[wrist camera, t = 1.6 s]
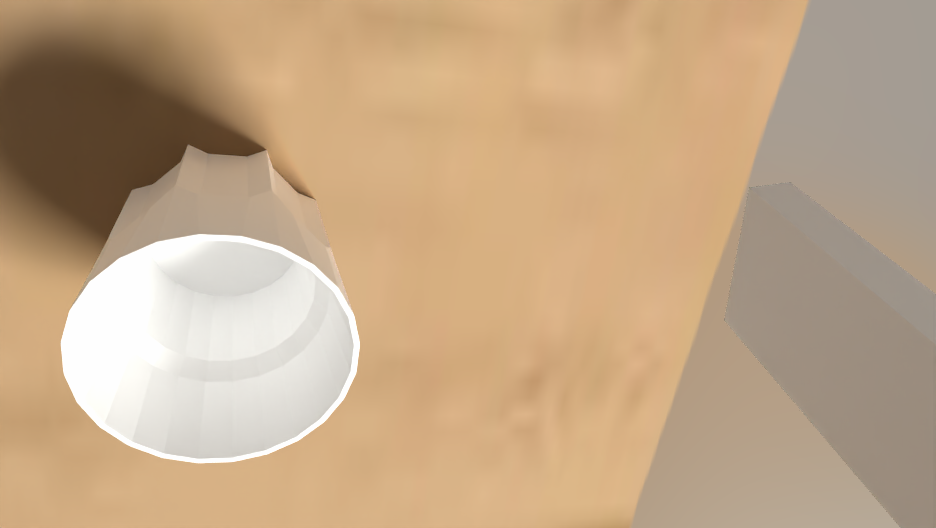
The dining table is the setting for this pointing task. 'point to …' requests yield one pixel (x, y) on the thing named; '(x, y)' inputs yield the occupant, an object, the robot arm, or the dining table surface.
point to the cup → (212, 316)
